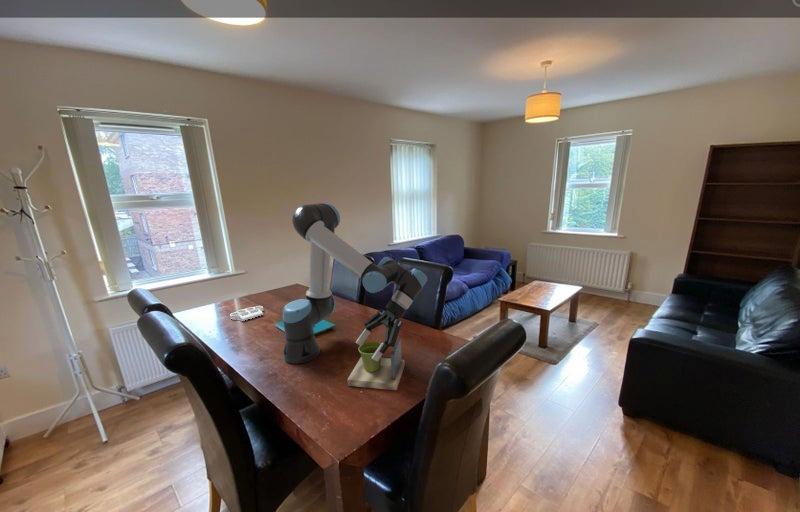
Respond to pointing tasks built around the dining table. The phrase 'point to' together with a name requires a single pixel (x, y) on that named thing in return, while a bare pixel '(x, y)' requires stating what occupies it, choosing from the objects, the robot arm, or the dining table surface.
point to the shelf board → (375, 376)
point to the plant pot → (370, 356)
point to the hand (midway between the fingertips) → (365, 351)
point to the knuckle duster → (247, 313)
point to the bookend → (396, 359)
